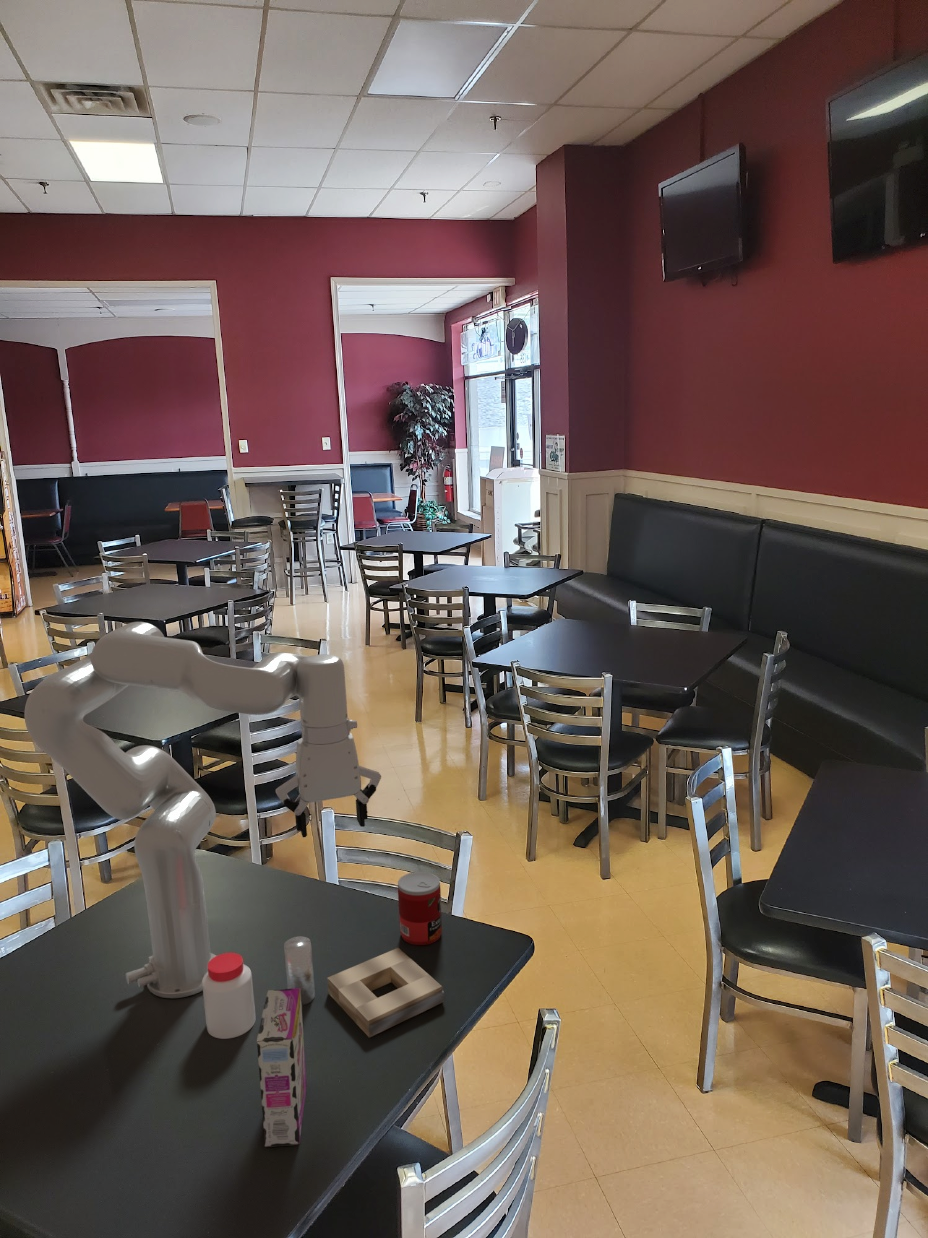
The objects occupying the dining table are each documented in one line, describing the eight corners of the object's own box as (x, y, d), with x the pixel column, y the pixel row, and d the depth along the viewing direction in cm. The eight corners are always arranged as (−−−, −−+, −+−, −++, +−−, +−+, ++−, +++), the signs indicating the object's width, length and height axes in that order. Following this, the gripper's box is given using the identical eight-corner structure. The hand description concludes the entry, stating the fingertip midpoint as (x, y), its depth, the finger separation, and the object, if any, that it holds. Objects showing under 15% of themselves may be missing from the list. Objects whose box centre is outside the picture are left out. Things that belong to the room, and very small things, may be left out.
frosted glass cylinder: (295, 1008, 146) (290, 955, 144) (284, 995, 149) (279, 942, 147) (319, 998, 148) (315, 945, 146) (307, 985, 152) (303, 933, 150)
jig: (371, 1039, 138) (370, 1023, 137) (328, 993, 150) (327, 977, 149) (444, 1004, 146) (444, 988, 145) (398, 962, 157) (398, 947, 157)
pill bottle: (212, 1045, 138) (205, 983, 135) (202, 1017, 145) (195, 957, 142) (261, 1029, 141) (255, 968, 139) (249, 1002, 148) (243, 943, 146)
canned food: (437, 948, 161) (435, 893, 159) (395, 944, 163) (392, 890, 161) (446, 925, 169) (444, 872, 166) (406, 922, 170) (403, 870, 168)
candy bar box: (302, 1146, 118) (293, 1039, 114) (264, 1149, 118) (254, 1042, 114) (309, 1085, 129) (301, 986, 125) (274, 1088, 128) (265, 988, 125)
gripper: (372, 717, 149) (378, 811, 153) (268, 731, 144) (277, 828, 147) (382, 730, 142) (388, 828, 146) (274, 746, 137) (283, 848, 140)
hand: (332, 828), depth 147 cm, fingers open, 9 cm apart
